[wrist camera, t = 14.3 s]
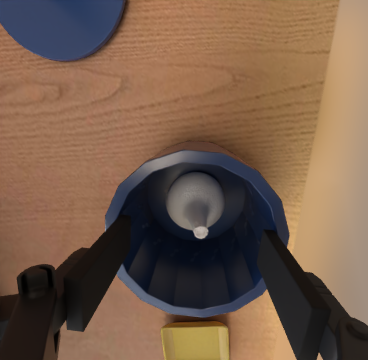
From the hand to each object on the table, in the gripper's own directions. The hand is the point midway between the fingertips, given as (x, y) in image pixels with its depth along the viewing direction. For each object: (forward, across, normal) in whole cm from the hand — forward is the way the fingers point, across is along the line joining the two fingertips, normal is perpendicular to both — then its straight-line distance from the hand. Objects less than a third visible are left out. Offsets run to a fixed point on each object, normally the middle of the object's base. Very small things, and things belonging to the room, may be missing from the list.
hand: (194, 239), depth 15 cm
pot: (+10, 0, 0) cm, 10 cm away
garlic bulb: (+10, 0, 0) cm, 10 cm away
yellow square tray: (+10, +2, -21) cm, 24 cm away
